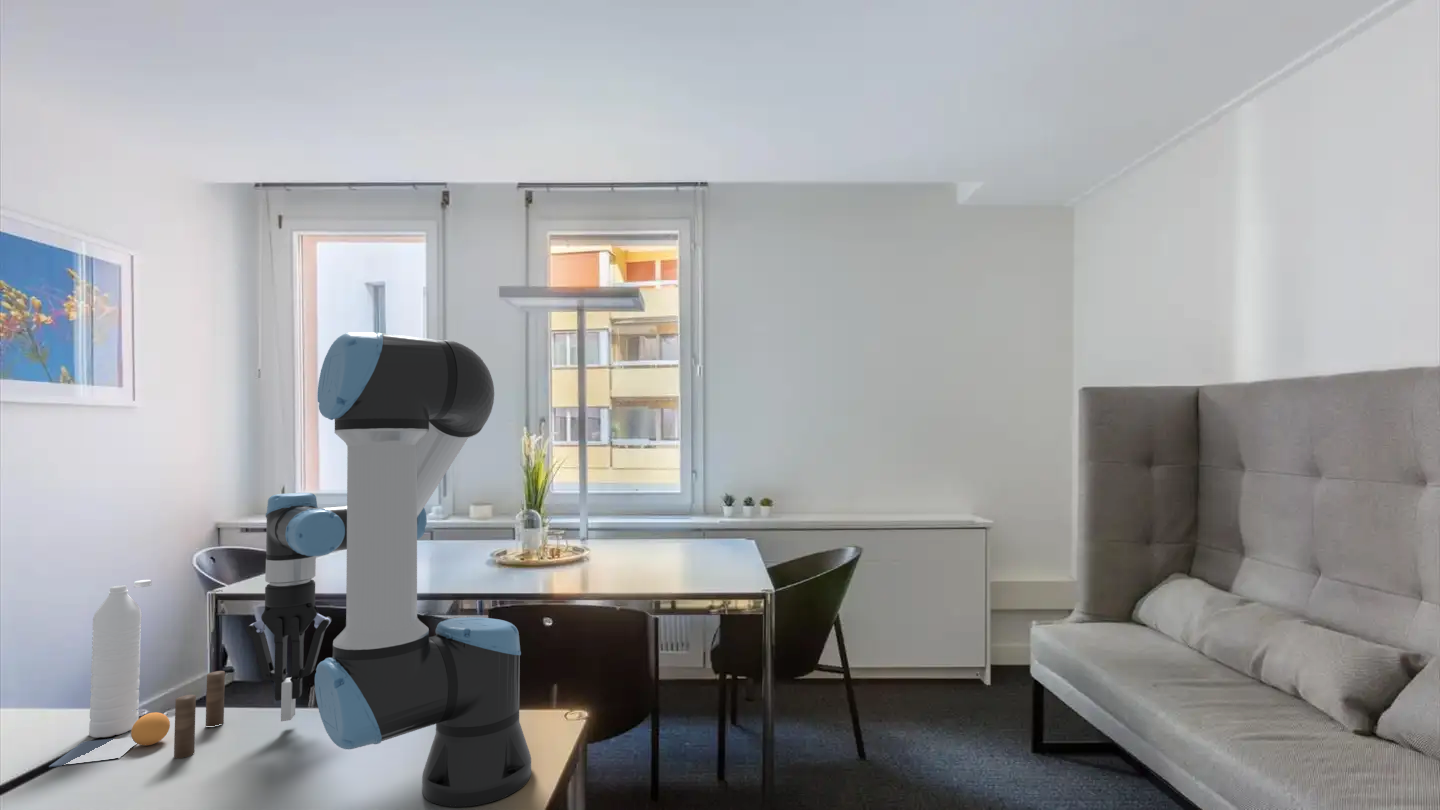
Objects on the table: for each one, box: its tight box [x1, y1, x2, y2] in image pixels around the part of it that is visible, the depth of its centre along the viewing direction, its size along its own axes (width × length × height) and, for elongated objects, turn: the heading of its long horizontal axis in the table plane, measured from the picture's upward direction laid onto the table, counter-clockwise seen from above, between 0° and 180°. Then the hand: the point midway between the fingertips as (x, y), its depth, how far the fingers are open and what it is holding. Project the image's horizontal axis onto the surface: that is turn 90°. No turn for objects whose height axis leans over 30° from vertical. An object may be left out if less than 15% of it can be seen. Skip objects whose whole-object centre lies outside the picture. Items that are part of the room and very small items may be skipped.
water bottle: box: [88, 579, 152, 739], centre depth 122 cm, size 9×6×25 cm
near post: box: [173, 694, 197, 759], centre depth 111 cm, size 3×3×9 cm
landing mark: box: [48, 737, 116, 768], centre depth 112 cm, size 9×9×1 cm
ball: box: [130, 711, 171, 746], centre depth 115 cm, size 5×5×5 cm
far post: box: [205, 670, 226, 727], centre depth 122 cm, size 3×3×9 cm
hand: (288, 717), depth 120 cm, fingers closed
